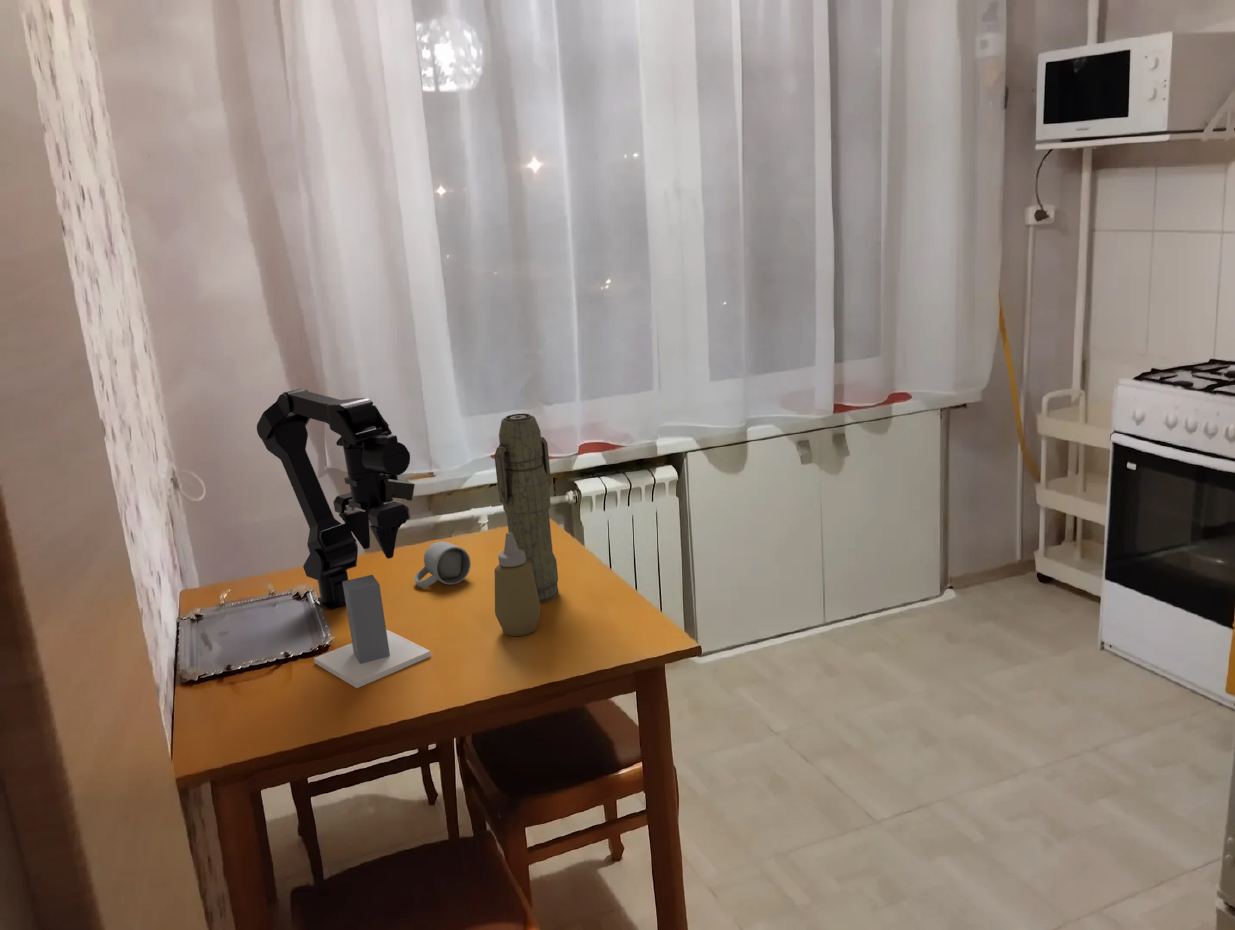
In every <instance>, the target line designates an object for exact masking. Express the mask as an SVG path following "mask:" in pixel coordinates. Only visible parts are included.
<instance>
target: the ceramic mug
mask: <svg viewBox="0 0 1235 930" xmlns="http://www.w3.org/2000/svg"><path fill="white" fill-rule="evenodd" d="M423 563H424V567H423V568H421V569H420V570H419V571H418V572H417V573H415V575H414V577H413V578H414V579H413V581H414V582H415V584H416V586H417V587H418V588H422V589H424V588H427V587H430V586H431V585H433V584H435V583H436V582H438V581H439V582H441V583H442V584H445V585H449V586H450V585H451V586H452V585H453V586H454V585H456V584H459V583H461V582H462V581H464V580H465V579H466V578H467V577H468V575H469V573H470V571H471V557H470V555H469V553H468V552H467V550H466V549H464V548H462V547H461V546H459V545H458V546H457V545H455V544H453V543H451V542H447V541H437V542H435V543H432V544H430V545H429V546H428V548H426V550H425V553H424V556H423ZM428 573H429V574H430V576H429V577H427V578H425V579H423V578H424V577H425V576H426V575H427V574H428ZM422 579H423V580H422Z"/></svg>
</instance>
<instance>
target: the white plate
mask: <svg viewBox="0 0 1235 930" xmlns="http://www.w3.org/2000/svg"><path fill="white" fill-rule="evenodd" d="M386 632H387V639H388V645H389V652H390V656H388V657H385V658H381V659H377V660H373V661H370V662H366V663H362V664H360V663H359V661H358V659H357V658H356V656H355V654H354V652H353V646H352V642H351V643H348V644H346V645H344V646H341V647H338V648H336V649H333V650H330V651H328V652H325V653H323V654H320V655H317V656H315V657H313V660H314V661H313V662H314V664H316V665H317V666H319V667H321V668H322V669H324V670H326V671H327V672H329V673H331V674H332V675H334V676H335V677H337V678H338V679H341V680H342V681H343V682H346V683H347V684H348V685H351V686H352V687H354V688H355V689H359V688H361V687H363V686H365V685H368V684H371V683H372V682H375V681H377V680H379V679H382V678H384V677H386V676H389V675H392V674H393V673H396V672H398V671H400V670H402V669H405V668H407V667H410V666H413V665H414V664H417V663H419V662H421V661H424V660H426V659H428V658H430V657H432V656H431V655H432V654H431V650H429V649H427V648H425V647H423V646H421V645H419V644H417V643H415V642H413V641H411V640H409V639H406V638H404V637H403V636H401V635H399V634H397V633H394V632H392V631H391V630H388V629H387V628H386Z"/></svg>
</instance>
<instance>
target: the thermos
mask: <svg viewBox="0 0 1235 930" xmlns="http://www.w3.org/2000/svg"><path fill="white" fill-rule="evenodd" d="M498 440H499V444H498V446H497V447H496V450H495V453H494V464H495V472H496V474H495V476H496V482H497V491H498V496H499V498H498V499H499V502H500V503H502V509H503V511H504V513H505V514H506V519H507V522H506V523H507V528H508V532H507V533H509V532H512V533H513V535H514V538H515V541H516V544H517V547H518V549H521V550H523V551H525V556H526V561H527V562H529V563H530V564H531V565H532V569H533V574H534V579H535V583H536V588H537V593H538V597H539V602H540V604H543V603H547V602H549V601H552V600H554V599H555V598H557V597H558V596H559V588H558V587H559V586H558V582H559V575H558V574H559V573H558V572H559V571H558V565H557V564H558V563H557V558H556V556H555V554H554V552H553V551H554V550H553V541H552V533H551V532H552V531H551V521H550V520H551V519H550V508H551V496H550V495H551V494H550V486H551V485H552V479H551V467H550V456H549V447H548V441H547V440H546V439H545V437H543V436H542V433H541V429H540V427H539V424H538V422H537V420H536V418H535V416H534V415H531V414H530V413H515V414H514V413H513V414H509V415H507V416H504V418H502V419H501V423H500V427H499V430H498Z"/></svg>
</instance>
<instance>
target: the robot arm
mask: <svg viewBox="0 0 1235 930" xmlns="http://www.w3.org/2000/svg"><path fill="white" fill-rule="evenodd" d="M311 419H312V420H315V421H319V422H323V423H325V424H327V425H328V426H329V429H330V430H331V431H332V432H334V433H335V434H337V435H339V436H340V437H339V438H338V439H337V441H336V443H335V444H336V446H339V447H343V454H344V459H345V466H346V471H347V476H346V477H344V478H343V479H344V483H345V484H347V485H349V487H350V492H348V493H344V494H339V495H336V497H335V498H334V500H333V502H332V503H333V509H334V512H335V513H338V517H340V518H341V520H342V521H343V522H344V523H342V522H340V521H339V520H337V518H335V516H334V514H333V511H332V510H331V507H330V505H329V503H328V500H327V497H326V496H325V495H326V494H325V493H324V491H323V488H322V486H321V484H320V480H319V479H318V476H317V474H316V472H315V469H314V466H313V464H312V462H311V460H310V457H309V454H308V453H307V443H308V438H309V433H308V429H307V427H306V426H307V425H308V424H309V422H310V420H311ZM389 426H390V425H389V424H388V422H387V421H386V420H385V418H384V417H383V415H382V414H381V412H380V410H379V409H378V408H377V406H376V404H374V402H373V401H372V400H371V399H369V398H367V397H357V398H348V399H347V398H346V399H338V398H334V397H330V396H328V395H327V396H326V395H323V394H319V393H315V392H311V391H309V390H307V389H306V388H304V389H303V388H297V389H293V390H288V391H283V393H281V394H280V395H279V396H278V398H277V400H276V401H275V402H274V403H273V404H271V405H270V406H268V407H267V409H265V410H264V411H263V412H262V414H261V416H260V418H259V420H258V422H257V424H256V432H257V435H258V437H259V438H260V440H261V441H262V443H263V445H264V447H265V449H266V450H267V451H268V452H270V453H271V454H272V455H273V456H275V457H277V458H278V459H279V460H280V462H281V464H282V466H283V468H284V471H285V473H286V475H287V476H286V477H288V480H289V483H290V485H291V487H292V490H293V492H294V494H295V496H296V499H297V501H298V503H299V507H300V508H301V511H302V512H303V513H302V514H303V516H304V518H305V521H306V523H307V525H308V528H309V533H308V537H307V548H308V551H309V555H308V556H307V558H306V561H305V562H304V564H303V565H302V567H303V570H304V573H305V575H306V577H307V578H311V579H313V580H315V581H317V584H318V591H319V597H317V598H318V601H319V602H320V605H319V606H321V607H323V608H324V609H327V610H333V609H335V608H338V607H340V606H344V605H346V601H345V595H344V589H343V581H347V580H349V574H348V570H350V569H352V568H356V567H357V565H358V564H357V563H358V555H359V554H358V551H359V546H358V543H359V544H360V546H361V547H362V549H364V550H367V549H370V546H371V536H370V535H371V534H370V530H371V532H372V534H373V535H374V538H375V539H376V541H377V543H378V545H379V547H380V549H381V550H382V552H383V554H384V556H385V557H386V559H387V560H388V559H389V560H390V559H392V558H394V555H395V554H394V553H395V548H396V541H397V540H396V539H397V535H398V532H399V531H398V530H399V529H400V528H401V526H403V524H406V523H407V521H408V520H410V519H411V515H410V514H411V513H410V508H409V507H408V506H407V505H405V504H404V503H402V502H401V503H400V502H397V501H394V499H401V500H402V499H403V500H406V501H407V502H408V501H411V502H412V501H413V499H414V498H413V497H414V492H415V487H416V484H415V483H414V482H409V481H407V480H400V479H399V477H398V476H401V475H402V474H404V473H405V472H406V471H407V470H408V468H409V466H410V463H411V453H410V451H409V450H408V448H407V446H405V444H403V443H401V442H399V441H398V437H397V435H395V434H393V432H392V431H391V429H390V427H389ZM384 503H385V504H384ZM370 524H371V525H370ZM357 542H358V543H357Z"/></svg>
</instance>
